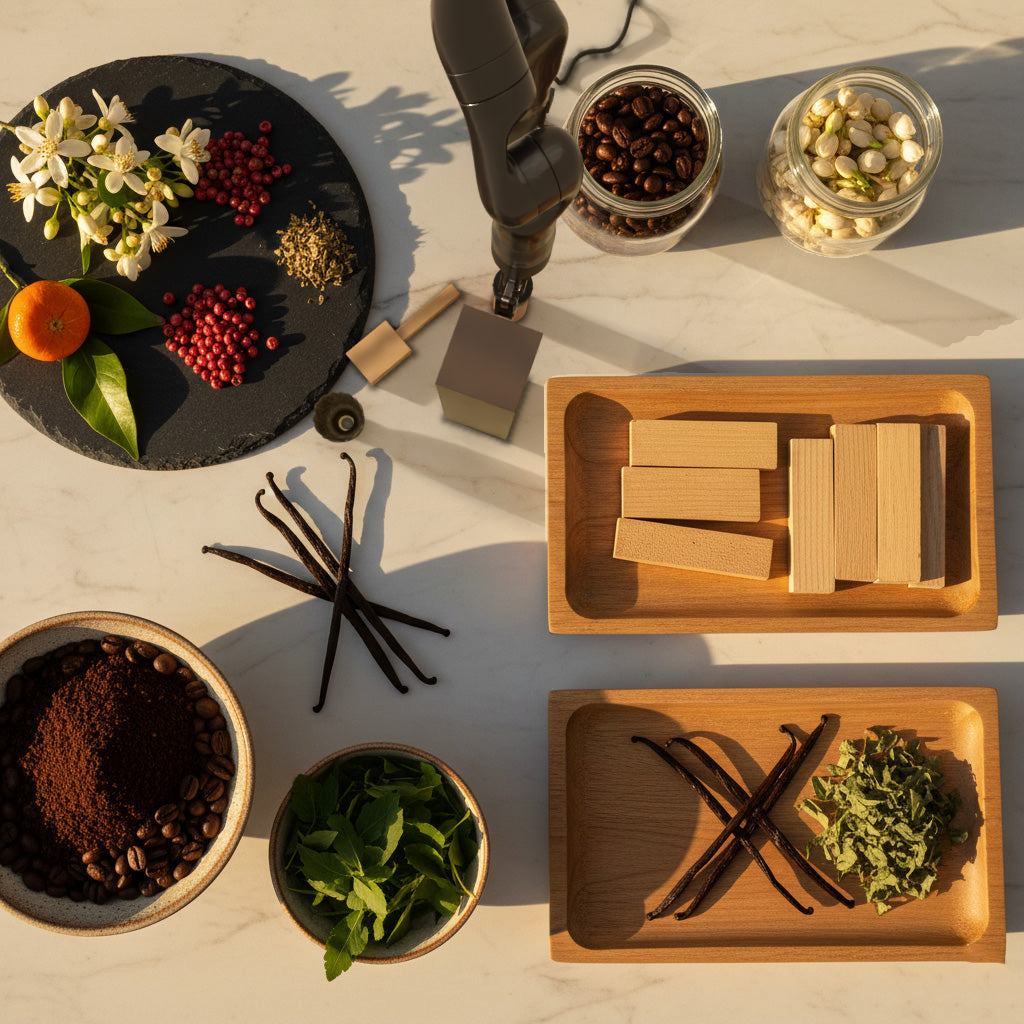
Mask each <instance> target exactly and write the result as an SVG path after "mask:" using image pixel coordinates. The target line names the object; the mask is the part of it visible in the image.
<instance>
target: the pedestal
mask: <svg viewBox="0 0 1024 1024" xmlns="http://www.w3.org/2000/svg"><path fill="white" fill-rule="evenodd" d="M458 315H459V316H458V318H457V322H456V323H455V326H454V329H453V332H452V335H451V337H450V340H449V342H448V346H447V348H446V352H445V354H444V358H443V360H442V363H441V365H440V367H439V371H438V374H437V375H436V378H435V379H436V380H435V381H434V385H435V388H436V393H437V395H438V398H439V400H440V404H441V405H440V406H441V407H442V411H443V414H444V418H445V419H447V420H449V421H453V422H455V423H458V424H460V425H464V426H466V427H469V428H472V429H474V430H476V431H479V432H483V433H484V434H485V433H486V434H488V435H491V436H493V437H497V438H499V439H502V440H505V441H506V440H507V438H508V436H509V432H510V430H511V428H512V425H513V422H514V419H515V415H516V413H517V411H518V407H519V405H520V402H521V399H522V397H523V394H524V391H525V387H526V385H527V382H528V379H529V377H530V375H531V371H532V369H533V365H534V363H535V359H536V356H537V354H538V351H539V347H540V346H541V342H542V340H543V336H544V332H541V331H539V330H536V329H533V328H531V327H528V326H525V325H523V324H520V323H516V322H512V321H509V320H506V319H503V318H501V317H498V316H497V315H495V314H494V313H493V314H492V313H490V312H487V311H484V310H481V309H479V308H476V307H473V306H471V305H467V304H465V303H463V305H462V307H461V310H460V312H459V314H458Z"/></svg>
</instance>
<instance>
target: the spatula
mask: <svg viewBox="0 0 1024 1024" xmlns="http://www.w3.org/2000/svg"><path fill="white" fill-rule="evenodd" d="M459 297H461V292H459V290H458V289H457V288H456V286H454V284H452V283H451V284H450V285H448V286H447V287H446V288H444V289H443V290H442V291H441V292H439V294H438V295H436V296H435V297H434V298H433V299H431V300H430V301H429V302H427V303H426V304H425V305H424V306H423V307H422V308H421V309H419V310H418V311H417V312H416V313H414V314H413V315H412V316H411V317H410V318H409V319H408V320H406V321H405V322H404V323H402V325H400V326H399V327H398V328H397V329H394V328H393V327H392V325H390V323H389V322H388V321H387V320H384V321H383V322H382V323H381V324H379V325H378V326H377V327H376V328H374V329H373V330H372V331H371V332H370V333H368V334H367V335H366V336H365V337H363V338H362V339H361V340H360V341H359V342H358V343H357V344H355V345H353V346H352V348H351V349H349V350H348V351H347V352H346V353H345V355H346V356H347V357H348V358H349V360H350V362H352V363H353V364H354V366H355V367H356V368H357V369H358V371H360V373H361V374H362V375H363V376H364V377H365V378H366V380H367V381H368V383H370V384H371V385H372V386H374V385H376V384H377V383H378V382H379V381H381V380H382V379H383V378H384V377H385V376H386V375H388V374H389V373H390V372H391V371H392V370H394V369H395V368H396V367H397V366H398V365H400V364H401V363H402V362H403V361H404V360H406V359H407V358H408V357H409V356H410V355H411V354H413V351H412V349H411V347H410V346H409V345H408V344H407V343H406V342H407V341H408V340H410V338H412V337H413V336H414V335H415V334H416V333H418V332H419V331H420V330H421V329H423V328H424V327H425V326H426V325H427V324H429V323H430V322H431V321H432V320H433V319H435V318H436V317H437V316H438V315H439V314H440V313H442V312H443V311H444V310H445V309H447V308H448V307H449V306H450V305H452V303H454V302H455V301H456V300H457V299H458V298H459Z"/></svg>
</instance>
